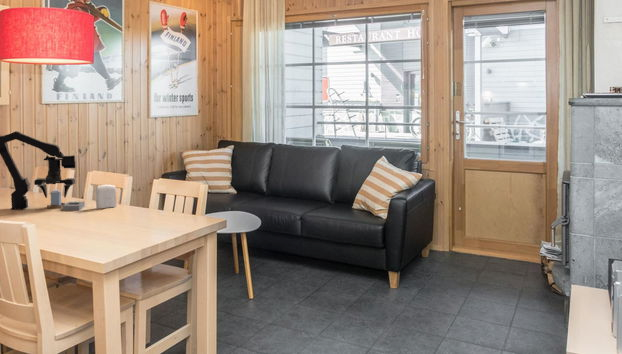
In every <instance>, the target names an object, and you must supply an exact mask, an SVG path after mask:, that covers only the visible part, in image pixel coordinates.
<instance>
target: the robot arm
mask: <svg viewBox="0 0 622 354" xmlns="http://www.w3.org/2000/svg"><path fill="white" fill-rule="evenodd" d="M15 140H17V141H19V142H22V143H25V144H27V145H28V146H29V145H30V146H32V147H34V148H37V149H38V150H41V151H42V152H44V153H45V154H47V155H46V156H45V157H44V158H43V161H47V167H48V169H47V170H48V171H47V175H46V176H45V178H43V177H42V178H40V177H39V178H36V179H34V181H33V182H34V183H33V184H34V186H37V187H38V188H39V189H41V191H42V193H43V195H44V197H45V199H47V198H48V187H47V185H56V184H64V185H63V188H64V191H63V192H64V193H63V196H64V197H63V198H66V197H67V194H68V192H69V189H70V187H72V186H73V185H75V184H76V179H75V178H71V177H70V178H69V177H68V178H65V179H62V176H61V173H62V169H61V167H62V168H63V169H76V167H77V166H76V165H77V162H76V156H75V155H64V153H63V152H62V151H61V148H60V146H59V145H58V144H54V143H51V142H45V141H42V140H40V139H36V138H34V137H32V136H30V135H26V134H24V133H22V132H20V131H18V130H17V131H16V130H15V131H13V132H12V133H8V134H4V135H1V134H0V156H1V158H2V161H3V162H4V165H5V166H6V168H7V170H8V172H9V174H10V176H11V178H12V180H13V186H14V189H15V190H14V191H13V192H12V193H10V195H11V197H10V198H11V200H10V201H11V202H10V203H11V208H10V210H25V209H27V208H29V201H28V198H27V195H26V194H27V193H28V192H29V191H30V189H31V186H30V185H31V183H30V182H29V181H28V180H29V179H28V178H27V177H25V178H24V177H23V175H22V174H21V172H20V170H19V169H18V167H17V164H16V162H15V160H14V158H13V157H12V154H11V153H10V149H9V145H8V143H9V142H12V141H15ZM56 157H57V158H56Z"/></svg>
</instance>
